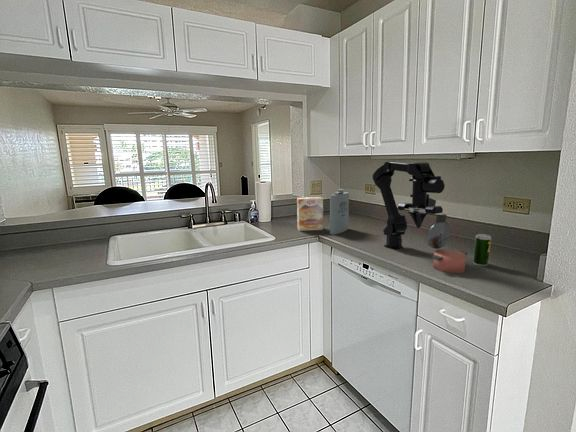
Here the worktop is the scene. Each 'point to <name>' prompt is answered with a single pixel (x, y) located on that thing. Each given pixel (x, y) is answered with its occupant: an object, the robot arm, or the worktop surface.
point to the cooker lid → (438, 232)
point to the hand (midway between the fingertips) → (418, 227)
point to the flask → (339, 212)
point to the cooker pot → (449, 260)
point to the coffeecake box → (310, 213)
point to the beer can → (482, 249)
